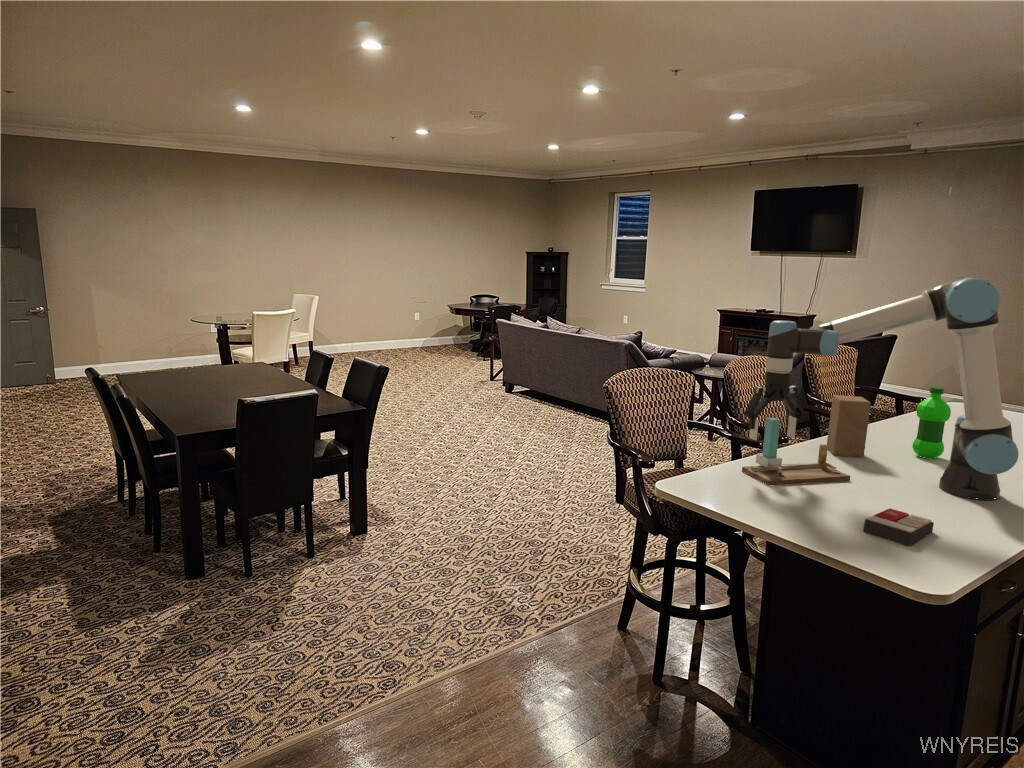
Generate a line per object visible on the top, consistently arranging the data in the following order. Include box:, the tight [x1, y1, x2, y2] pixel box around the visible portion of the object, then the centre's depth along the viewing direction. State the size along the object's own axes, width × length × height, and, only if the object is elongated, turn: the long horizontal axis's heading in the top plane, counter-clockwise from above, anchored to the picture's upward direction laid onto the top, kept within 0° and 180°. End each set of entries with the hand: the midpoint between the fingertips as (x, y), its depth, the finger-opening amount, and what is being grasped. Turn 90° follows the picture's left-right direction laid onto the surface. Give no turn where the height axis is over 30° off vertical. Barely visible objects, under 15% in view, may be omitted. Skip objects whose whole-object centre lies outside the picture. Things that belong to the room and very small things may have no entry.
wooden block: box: [826, 394, 872, 458], centre depth 236 cm, size 10×10×20 cm
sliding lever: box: [755, 417, 783, 475], centre depth 207 cm, size 9×5×16 cm, turn 15°
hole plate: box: [741, 443, 851, 486], centre depth 209 cm, size 14×29×9 cm, turn 105°
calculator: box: [863, 508, 934, 547], centre depth 167 cm, size 11×4×15 cm
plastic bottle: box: [911, 386, 952, 459], centre depth 234 cm, size 10×10×25 cm
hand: (772, 438), depth 208 cm, fingers open, 13 cm apart
